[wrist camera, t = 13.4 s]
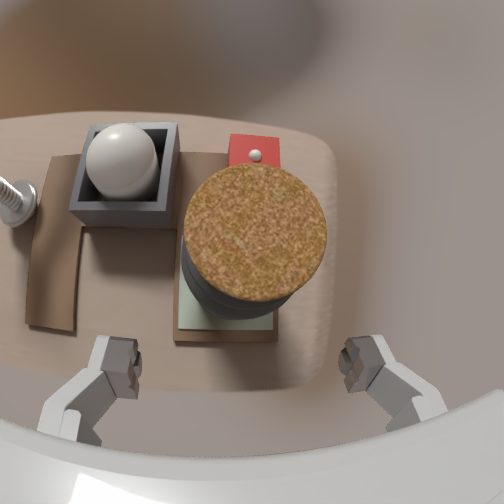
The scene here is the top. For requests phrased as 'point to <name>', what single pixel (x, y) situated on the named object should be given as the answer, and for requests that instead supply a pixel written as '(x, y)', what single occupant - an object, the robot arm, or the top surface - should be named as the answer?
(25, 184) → the screw
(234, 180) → the bottle
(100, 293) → the top surface
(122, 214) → the dome collar
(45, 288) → the game board
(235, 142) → the red die
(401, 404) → the robot arm
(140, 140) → the dome cap
